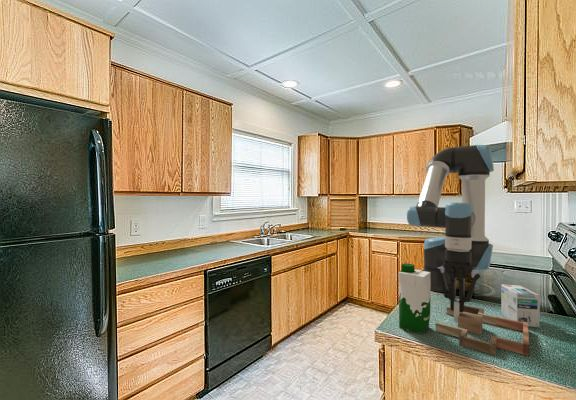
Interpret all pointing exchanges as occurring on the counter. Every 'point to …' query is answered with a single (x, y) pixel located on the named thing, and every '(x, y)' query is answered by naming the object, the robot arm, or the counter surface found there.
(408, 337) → the counter surface
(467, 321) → the block
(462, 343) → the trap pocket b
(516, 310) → the light bulb box
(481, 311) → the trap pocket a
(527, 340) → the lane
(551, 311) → the counter surface
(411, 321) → the milk carton
